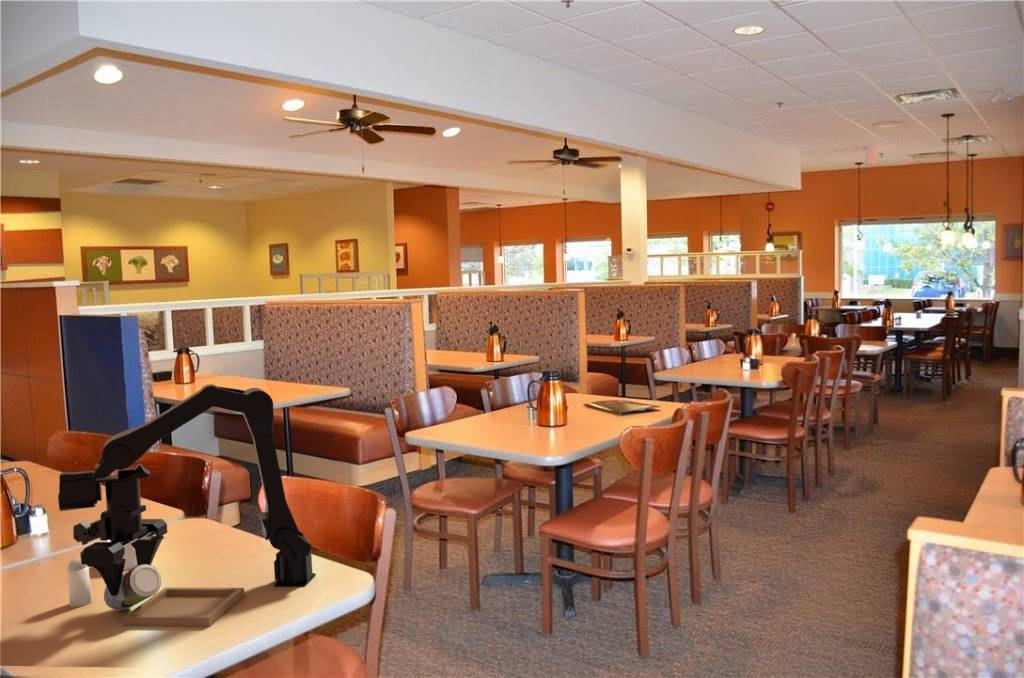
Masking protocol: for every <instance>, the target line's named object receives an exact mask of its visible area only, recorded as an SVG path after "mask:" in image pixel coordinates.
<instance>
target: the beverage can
mask: <svg viewBox="0 0 1024 678" xmlns="http://www.w3.org/2000/svg"><path fill="white" fill-rule="evenodd" d="M161 586H162V576H161V573H160V572H159V570H158V569H157V568H156V566H154V565H152V564H151V565H149V564H141V565H138V566H136V567H134V568H133V569H129V570H127V571H126V572H125V573H124V572H123V575H122V579H121V584H120V587H119V592H118V595H116V596H112V595H111V594H110V592H109V590H108V588H107V586H106V587H105V588H104V593H103V601H104V602H105V605H106V606H107V607H109V608H110V609H111V610H114V611H120V612H121V611H122V612H123V611H126V610H128V609H130V608H132V607H134V606H136V605H137V604H139V603H141V602H143V601H146V600H148V599H150V598H151V597H152V596H154V595H155V594H157V593H158V592H159V590H160V589H161Z"/></svg>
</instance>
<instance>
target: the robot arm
mask: <svg viewBox="0 0 1024 678" xmlns="http://www.w3.org/2000/svg"><path fill="white" fill-rule="evenodd" d="M214 407H215V408H219V409H224V410H228V411H233V412H236V413H240V414H241V413H242V415H243V417H244V421H245V423H246V425H247V427H248V429H249V432H250V434H251V436H252V437H251V438H252V440H253V445H254V446H253V447H254V451H255V455H256V459H257V461H256V462H257V467H258V470H259V476H260V480H261V485H262V490H263V494H264V501H265V506H264V507H265V508H264V512H258V513H257V514H258V516H259V519H260V521H261V533H262V535H263V537H264V540H265V541H269V544H270V545H271V547H273V548H274V549H276V550H277V551H278V552H276V553H275V560H274V561H273V568H274V569H273V572H274V581H275V583H274V584H273V587H275V588H304V587H307V585H309V583H311V581H312V580H313V579H315V578H316V576H317V574H316V573H315V572H314V573H313V560H312V558H313V557H312V544H311V543H310V541H309V539H308V538H307V537H306V535H305V533H303V532H302V531H301V530H299V527H298V526H297V524H296V523H297V522H296V520H295V519H294V516H293V514H292V511H291V509H290V507H289V505H288V504H289V503H288V501H287V500H286V494H285V489H284V483H283V481H282V480H283V478H282V475H281V470H280V469H281V468H280V465H279V460H278V455H277V450H276V449H277V448H276V445H275V438H274V434H273V433H274V417H275V416H274V402H273V398H272V397H271V395H269V393H267V392H266V391H265V390H263V388H259V387H250V388H247V389H246V390H243V389H239V388H231V387H225V386H224V387H223V386H217V385H216V384H213V383H211V384H210V383H209V384H206V385H203V386H202V387H201V388H200V389H199V390H198V391H196V392H194V393H192V394H191V395H190V396H187V398H185V399H183V400H182V401H180V402H179V403H177V404H175V405H174V406H172V407H170V408H169V409H167V410H165V411H164V412H162V413H160V414H159V415H157V416H155V417H154V418H152V419H151V420H149V421H147V422H145V423H143V424H140V425H137V426H135V427H130V428H129V429H126V430H124V431H121V432H119V433H117V434H114V435H112V436H110V438H108V439H107V440H106V442H105V443H104V445H103V448H102V453H101V454H102V457H101V459H100V460H98V463H95V466H94V468H93V469H94V470H85V471H83V470H82V471H75V472H71V471H65V472H61V473H59V477H58V478H59V483H58V488H59V489H58V490H59V491H58V495H57V497H58V498H57V500H58V509H59V511H60V512H65V511H67V512H68V511H74V510H82V509H88V508H89V509H90V508H91V509H92V508H96V505H97V504H98V502H101V501H103V489H102V483H104V489H105V502H106V509H105V510H104V511H102V512H101V513H100V515H99V516H100V518H99V519H97V520H95V521H92V522H90V523H89V522H88V521H87V520H85V521H82V522H79V523H77V524H75V525H73V527H72V528H73V529H72V531H73V532H72V533H73V537H72V538H73V540H74V541H76V543H81V545H82V546H85V545H88V543H90V542H93V541H95V540H97V539H99V541H96V542H94V543H92V544H90V545H88V546H86V547H84V548H83V549H82V550H81V551H80V554H79V555H80V556H79V557H80V558H81V564H82V565H87V566H88V567H89V568H94V569H95V570H96V571H98V573H99V574H100V576H101V578H102V579H103V581H104V584H105V586H106V587H107V588H108V590H109V592H110V594H111V595H112V596H116V595H118V592H119V587H120V584H121V579H122V575H123V574H124V571H125V570H124V565H125V561H126V559H123V556H124V554H125V548H124V547H126V546H127V545H129V544H131V545H132V546H133V548H134V549H135V553H136V559H137V565H141V564H149V565H152V563H153V561H154V558H155V556H156V553H157V552H158V550H159V547H160V546H161V543H162V541H163V540H164V539H165V536H164V535H166V534H168V523H167V521H165V520H164V519H162V518H143V516H142V513H144V512H146V511H147V505H146V504H141V503H142V502H141V501H142V500H141V488H140V487H141V486H140V485H141V484H140V479H145V478H147V479H149V477H150V475H151V473H150V472H151V471H150V470H149V469H147V468H145V467H144V466H143V465H142V463H138V464H137V466H135V467H134V468H130V467H132V465H134V464H135V462H137V461H138V460H139V459H140V458H142V457H143V456H144V454H146V453H147V452H148V451H149V450H150V449H151V448H152V447H153V446H154V445H155V444H156V443H157V442H158V441H160V440H162V439H163V438H165V437H166V436H168V435H170V434H171V433H173V432H175V431H176V430H178V429H180V428H181V427H183V426H184V425H186V424H187V423H189V422H190V421H192V420H193V419H195V418H197V417H198V416H200V415H202V414H203V413H205V412H206V411H208V410H210V409H212V408H214ZM116 470H117V474H113V475H112V473H114V472H115V471H116ZM107 540H110V541H111V542H106V541H107Z"/></svg>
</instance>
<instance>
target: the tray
mask: <svg viewBox="0 0 1024 678" xmlns="http://www.w3.org/2000/svg"><path fill="white" fill-rule="evenodd" d="M245 595H246V594H245V587H182V586H181V587H171V586H170V587H167V586H166V587H164V588H162V589H161V590H160V591H157V592H156V593H155V594H154V595H153V596H151V597H149V598H147V599H146V600H144V602H142V603H141V604H139V605H138V606H137V607H135V608H134V609H132V610H131V611H129V612H128V613H127V614H125V615H124V616H123V617H122V620H123V626H124V627H187V628H188V627H192V628H193V627H197V628H198V627H199V628H201V627H202V628H203V627H204V628H210V627H212V626H213V624H215V622H216V621H218V620H219V619H220V618H221V617H223V615H225V613H227V612H228V611H229V610H230V609H232V608H233V607H234V606H235V605H236V604H237V603H238V602H239V601H241V599H243V598H244V597H245Z"/></svg>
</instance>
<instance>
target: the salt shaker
mask: <svg viewBox="0 0 1024 678" xmlns="http://www.w3.org/2000/svg"><path fill="white" fill-rule="evenodd" d="M90 579H91V577H90V567H88V566H87V565H82V564H81V558H80V556H79V557H78V556H77V557H75V558H72V559H71V560H70V561H69V563H68V564H67V581H68V597H69V606H70V607H71V608H79V607H84V606H88V605H89V604H91V603H92V592H91V581H90Z"/></svg>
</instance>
